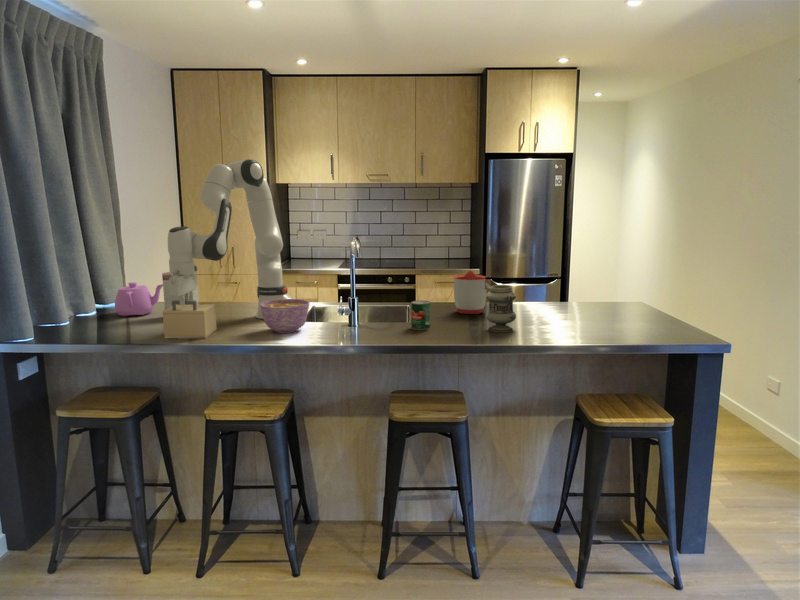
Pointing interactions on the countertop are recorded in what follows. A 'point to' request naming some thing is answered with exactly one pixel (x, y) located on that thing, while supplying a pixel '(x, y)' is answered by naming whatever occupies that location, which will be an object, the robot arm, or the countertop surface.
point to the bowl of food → (285, 314)
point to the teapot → (135, 300)
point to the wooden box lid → (188, 307)
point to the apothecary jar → (501, 307)
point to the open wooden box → (189, 324)
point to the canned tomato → (420, 315)
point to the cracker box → (168, 300)
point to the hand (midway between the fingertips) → (184, 304)
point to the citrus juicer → (470, 293)
